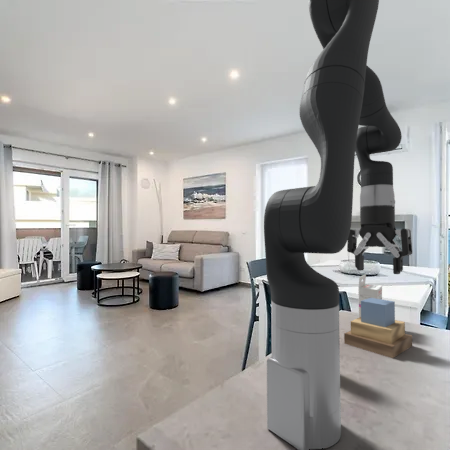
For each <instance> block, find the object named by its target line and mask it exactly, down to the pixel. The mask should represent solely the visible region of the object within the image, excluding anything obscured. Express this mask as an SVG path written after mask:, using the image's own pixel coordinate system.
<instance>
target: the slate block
mask: <svg viewBox="0 0 450 450" xmlns="http://www.w3.org/2000/svg"><path fill="white" fill-rule="evenodd" d="M395 307H396V304H395V301H394V300H386V299H383V298H382V299H376V298H369V299H365V300H362V301H361V322H364V323H369V324H373V325H377V326H382V327H387V326H389V325H391V324H393V323H395V320H396V313H395V312H396V310H395V309H396V308H395Z"/></svg>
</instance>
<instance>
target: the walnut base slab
mask: <svg viewBox="0 0 450 450" xmlns="http://www.w3.org/2000/svg"><path fill="white" fill-rule="evenodd" d="M343 336H344V337H343V338H344V341H343V342H344V344H345V345H349V346H351V347H355V348H358V349H362V350H365V351H368V352H370V353H374V354H377V355H381V356H384V357H387V358H390V359H394V358H396V357H397V356H399V355H400V354H402V353H405V352H406V351H407V350H409V349H410V348H412V347H413V335H412V334H407V333H405V335H404V336H402V337H401V338H399V339H398V340H396V341H395V342H393V343H392V344H389V343H385V342H381V341H377V340H373V339H369V338H365V337H361V336H357V335H353V334H351V330H349V331H346V332H344V333H343Z"/></svg>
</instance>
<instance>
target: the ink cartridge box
mask: <svg viewBox="0 0 450 450" xmlns="http://www.w3.org/2000/svg"><path fill="white" fill-rule="evenodd" d="M366 276H367V274H366V273H365V274H363V275H361V276H359V279H358V318H359V317H361V301H362V300H365V299H369V298H376V299H382V300H383V285H380V284H366Z"/></svg>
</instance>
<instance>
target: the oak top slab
mask: <svg viewBox="0 0 450 450" xmlns="http://www.w3.org/2000/svg"><path fill="white" fill-rule="evenodd" d="M350 331H351V334H353V335H357V336H361V337H365V338H369V339H373V340H377V341H381V342H385V343H389V344H392V343H393V342H395V341H396V340H398V339H399V338H401V337H402V336H404V335H405V334H406V322H405V321H401V320H397V319H395V323H393V324H391V325H389V326H387V327H382V326H377V325H373V324H369V323H364V322H361V317H359V316H358V318H355V319H352V320H351V321H350Z"/></svg>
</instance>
